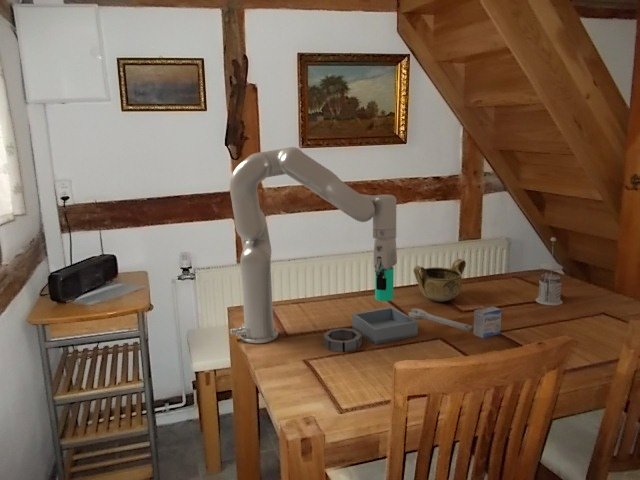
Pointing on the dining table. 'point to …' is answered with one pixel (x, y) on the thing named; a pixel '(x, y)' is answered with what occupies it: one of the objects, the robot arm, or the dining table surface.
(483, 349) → the dining table surface
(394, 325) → the bin
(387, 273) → the candle
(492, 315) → the medicine box
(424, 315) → the adjustable wrench
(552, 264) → the french press
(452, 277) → the ceramic bowl
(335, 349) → the collar
